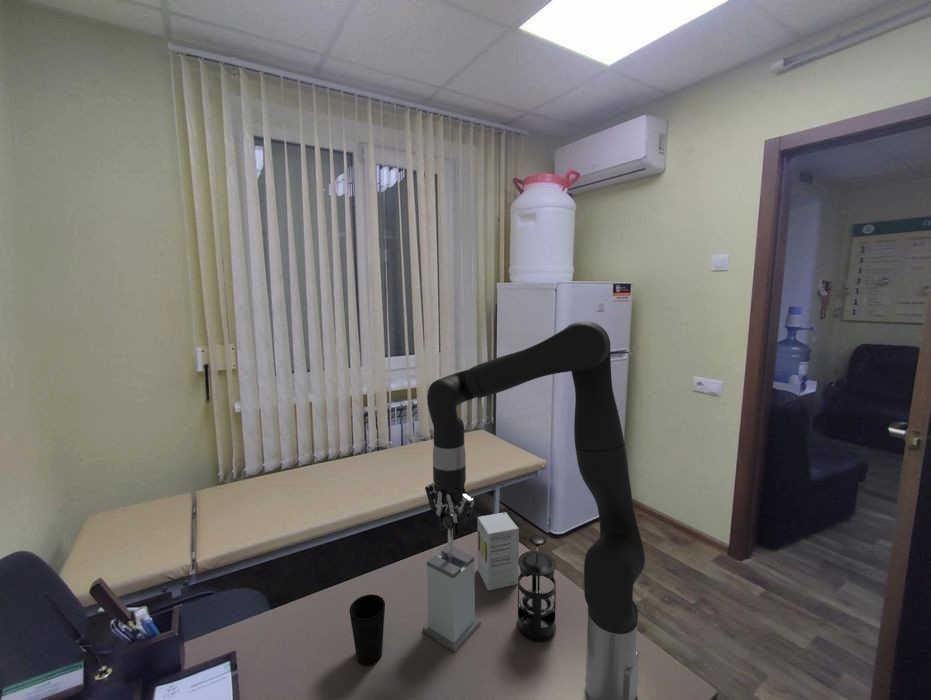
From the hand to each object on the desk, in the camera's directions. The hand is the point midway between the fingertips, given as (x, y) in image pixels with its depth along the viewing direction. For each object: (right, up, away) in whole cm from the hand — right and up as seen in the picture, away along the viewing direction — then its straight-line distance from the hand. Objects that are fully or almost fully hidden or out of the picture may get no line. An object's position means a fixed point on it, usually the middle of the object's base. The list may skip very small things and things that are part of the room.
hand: (450, 531), depth 96 cm
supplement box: (+13, -23, +21) cm, 33 cm away
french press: (+21, -25, +4) cm, 32 cm away
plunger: (0, -12, +2) cm, 12 cm away
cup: (-18, -26, -4) cm, 32 cm away
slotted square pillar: (0, -25, +3) cm, 25 cm away
